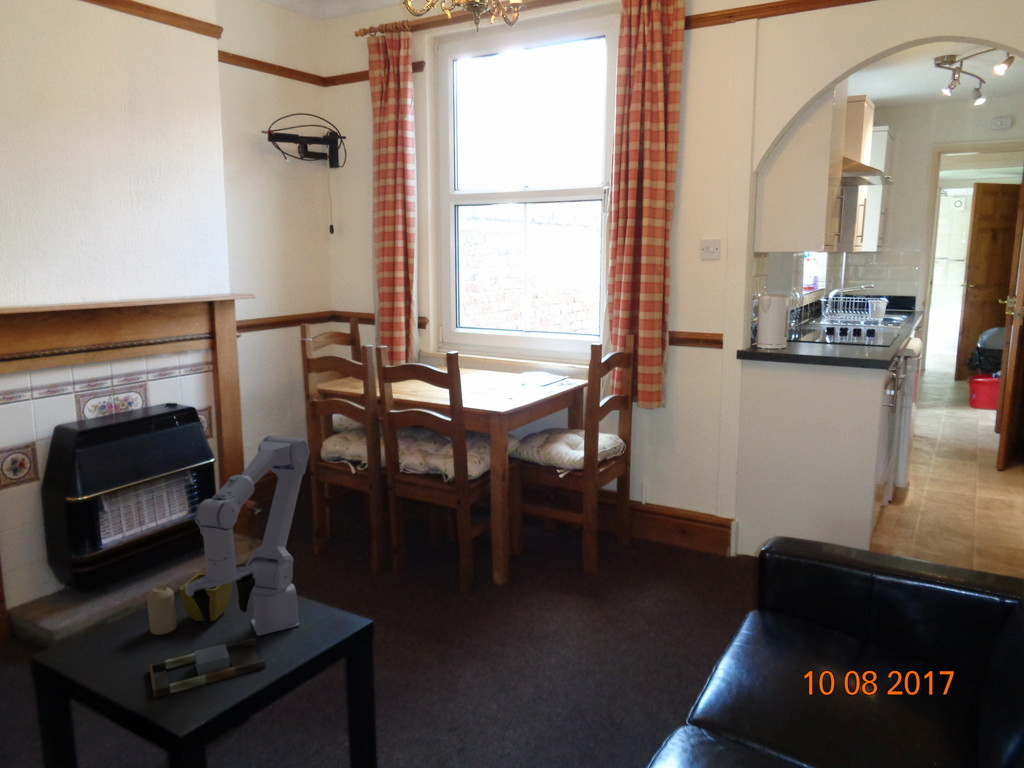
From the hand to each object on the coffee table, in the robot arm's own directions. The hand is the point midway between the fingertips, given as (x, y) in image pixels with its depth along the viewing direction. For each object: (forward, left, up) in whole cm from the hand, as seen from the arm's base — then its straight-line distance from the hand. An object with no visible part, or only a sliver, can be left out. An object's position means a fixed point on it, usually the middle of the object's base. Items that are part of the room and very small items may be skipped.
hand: (225, 616), depth 156 cm
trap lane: (+5, +2, -10) cm, 11 cm away
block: (+4, +2, -10) cm, 11 cm away
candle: (+11, -21, -10) cm, 26 cm away
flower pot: (+1, -22, -10) cm, 24 cm away
